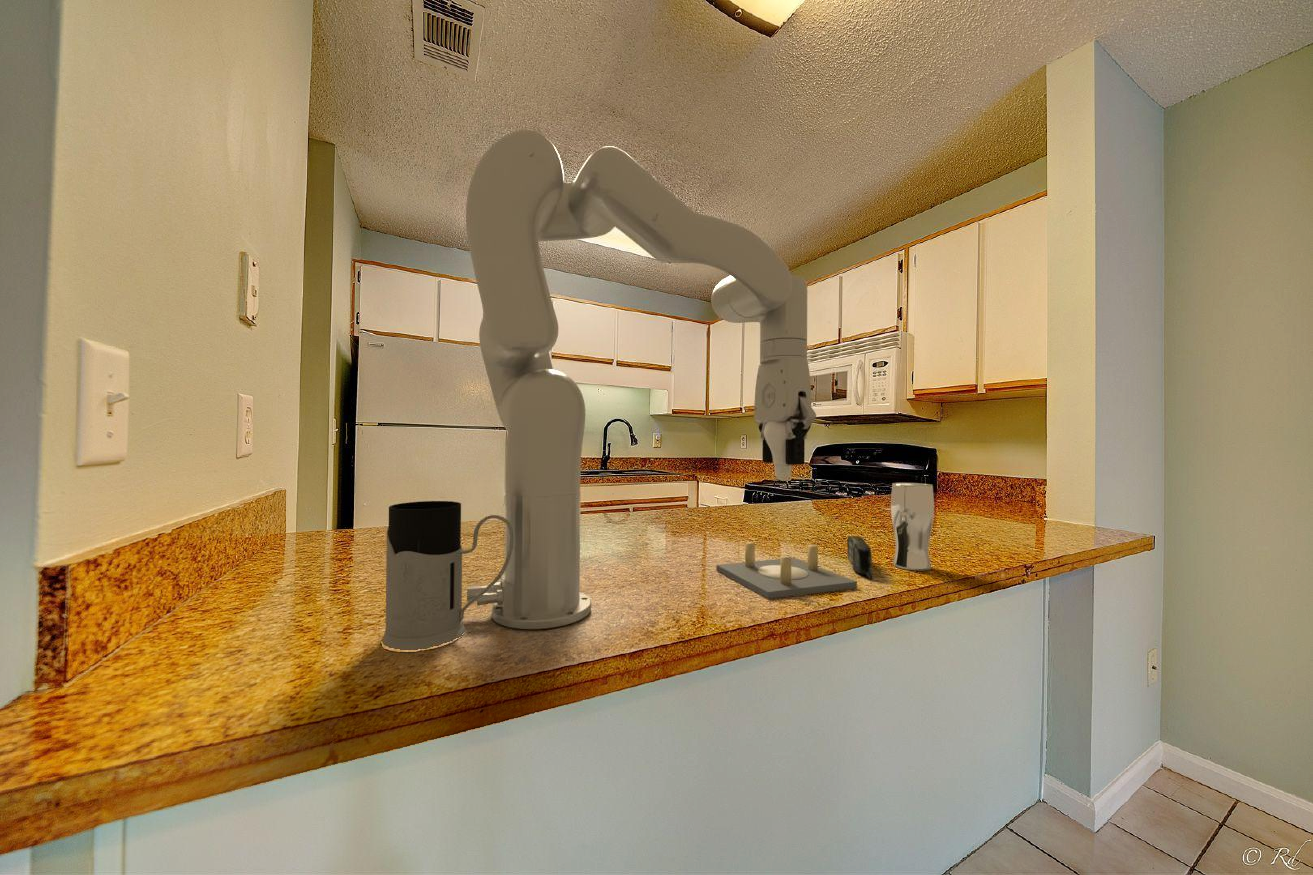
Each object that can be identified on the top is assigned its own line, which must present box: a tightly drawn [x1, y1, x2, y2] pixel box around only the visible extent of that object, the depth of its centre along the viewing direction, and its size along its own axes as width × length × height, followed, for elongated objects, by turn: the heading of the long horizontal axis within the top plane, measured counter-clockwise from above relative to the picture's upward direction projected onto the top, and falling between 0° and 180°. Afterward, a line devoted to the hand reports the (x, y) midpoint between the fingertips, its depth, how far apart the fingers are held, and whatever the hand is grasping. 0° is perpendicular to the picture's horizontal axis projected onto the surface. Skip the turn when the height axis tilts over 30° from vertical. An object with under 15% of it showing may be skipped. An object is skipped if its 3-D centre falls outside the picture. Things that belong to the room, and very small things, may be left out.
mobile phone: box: [846, 535, 874, 580], centre depth 86 cm, size 5×3×15 cm
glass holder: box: [381, 500, 514, 650], centre depth 55 cm, size 9×14×15 cm, turn 95°
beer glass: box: [890, 482, 935, 572], centre depth 87 cm, size 7×7×15 cm
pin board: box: [715, 541, 858, 600], centre depth 79 cm, size 16×16×5 cm
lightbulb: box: [764, 417, 796, 482], centre depth 79 cm, size 6×6×11 cm
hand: (782, 462), depth 79 cm, fingers closed on lightbulb, 5 cm apart
